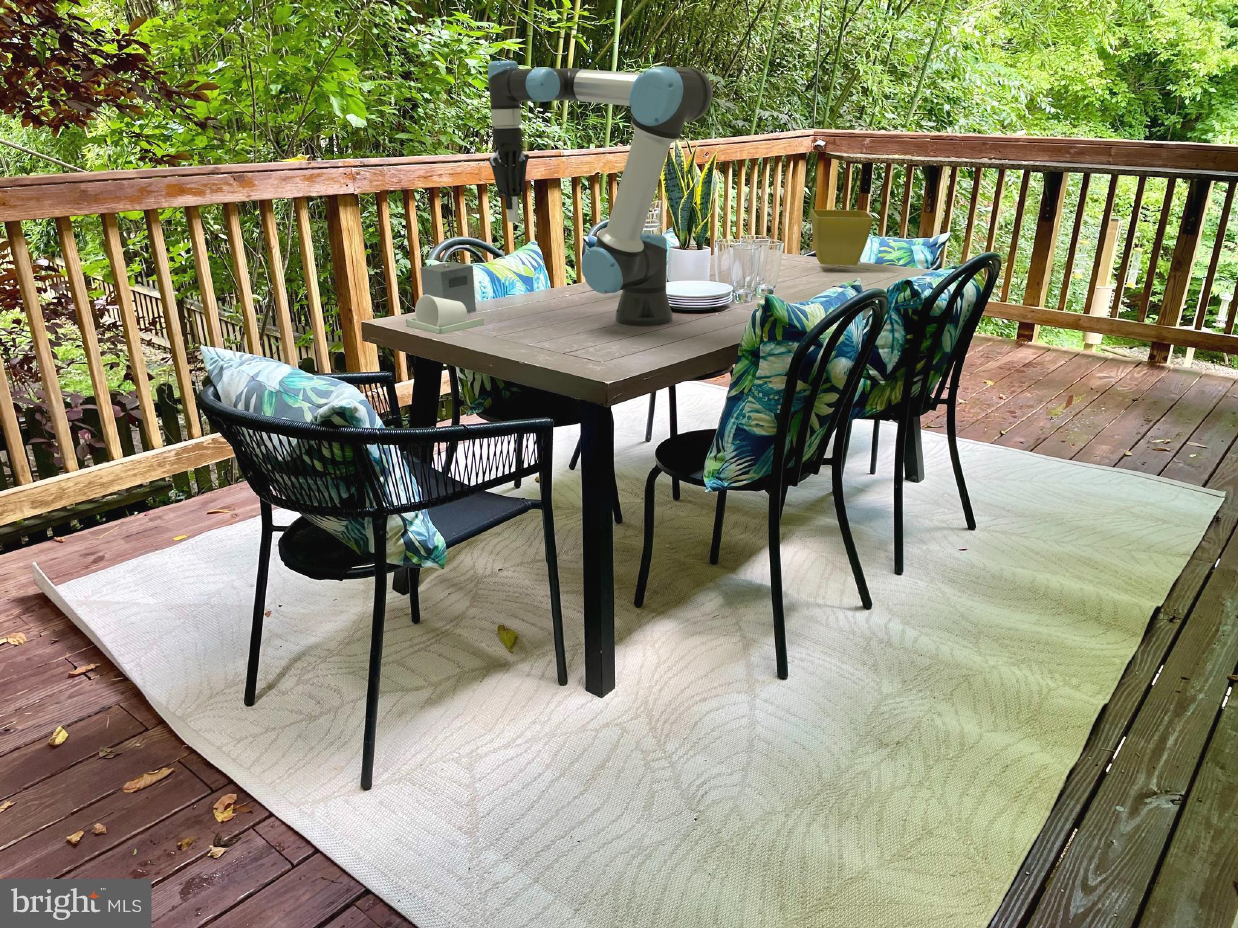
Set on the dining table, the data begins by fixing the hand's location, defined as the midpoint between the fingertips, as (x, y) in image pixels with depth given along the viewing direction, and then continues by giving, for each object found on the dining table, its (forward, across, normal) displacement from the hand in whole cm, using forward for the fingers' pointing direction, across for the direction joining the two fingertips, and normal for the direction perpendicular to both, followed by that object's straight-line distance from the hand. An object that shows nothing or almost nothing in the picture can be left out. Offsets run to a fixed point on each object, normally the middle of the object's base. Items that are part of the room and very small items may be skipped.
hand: (513, 221), depth 237 cm
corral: (+25, +23, -5) cm, 34 cm away
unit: (+25, +10, -17) cm, 32 cm away
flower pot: (+27, -124, +35) cm, 131 cm away
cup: (+22, +17, -4) cm, 28 cm away
